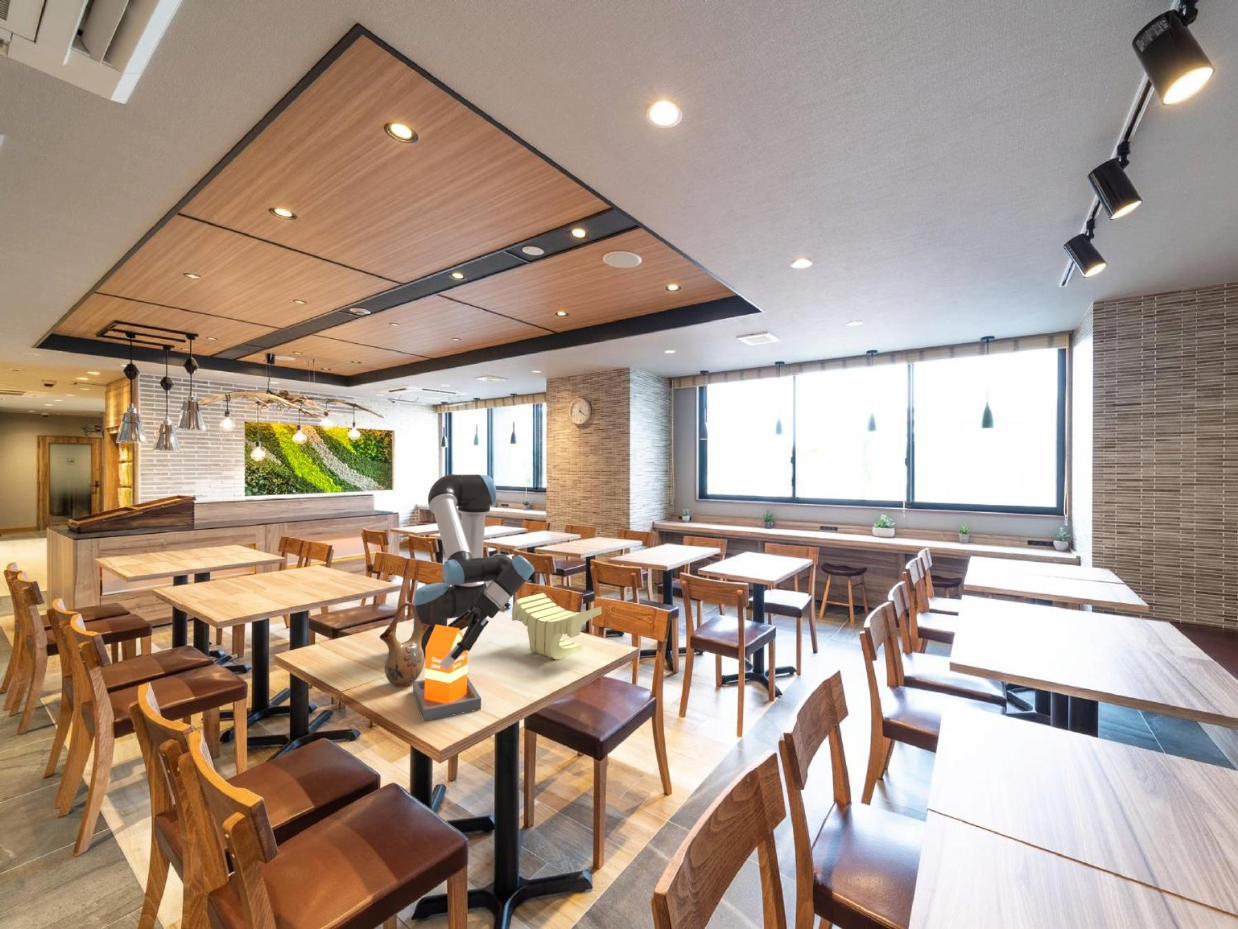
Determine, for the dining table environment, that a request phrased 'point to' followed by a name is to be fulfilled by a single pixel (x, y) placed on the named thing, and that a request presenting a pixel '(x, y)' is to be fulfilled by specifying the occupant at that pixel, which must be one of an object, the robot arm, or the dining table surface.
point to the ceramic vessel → (404, 652)
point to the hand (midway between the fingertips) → (438, 659)
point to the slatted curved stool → (550, 625)
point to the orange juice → (437, 679)
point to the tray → (440, 709)
